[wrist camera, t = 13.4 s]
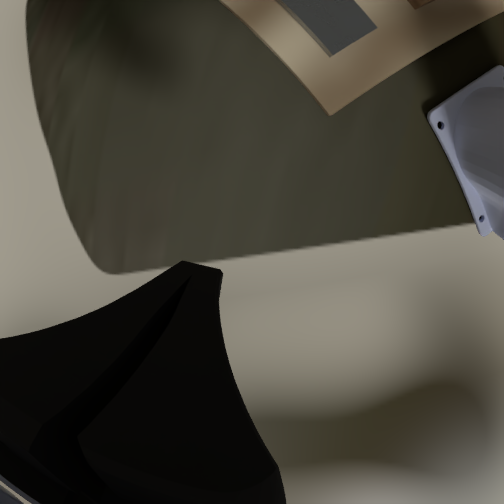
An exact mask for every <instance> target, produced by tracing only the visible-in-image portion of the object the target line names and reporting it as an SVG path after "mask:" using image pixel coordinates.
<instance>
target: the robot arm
mask: <svg viewBox="0 0 504 504" xmlns="http://www.w3.org/2000/svg"><path fill="white" fill-rule="evenodd" d="M427 119H428V122H429V123H430V125H431V127H432V129H433V130H434V132H435V134H436V136H437V138H438V140H439V142H440V143H441V145H442V147H443V149H444V151H445V153H446V155H447V157H448V159H449V161H450V163H451V166H452V168H453V170H454V172H455V174H456V176H457V179H458V181H459V183H460V185H461V188H462V190H463V193H464V195H465V197H466V200H467V202H468V205H469V208H470V210H471V213H472V216H473V218H474V221H475V224H476V227H477V229H478V232H479V234H480V235H481V236H486V235H488V234H489V233H490V232H492V231H494V232H495V233H496V234H497V235H499V236H500V237H501V238H502V239H503V240H504V67H503V66H501V65H498V66H495V67H494V68H492V69H491V70H489V71H488V72H486V73H485V74H483V75H482V76H480V77H479V78H477V79H476V80H474V81H473V82H471V83H470V84H468V85H467V86H465V87H464V88H462V89H461V90H459V91H458V92H456V93H455V94H454V95H452V96H451V97H449V98H448V99H446V100H445V101H443V102H442V103H440V104H439V105H437V106H436V107H434V108H433V109H431V110H430V111H429V112H428V115H427ZM439 121H440V122H441V124H442V126H441V128H440V129H439V128H438V126H437V123H438V122H439ZM481 215H482V217H481V219H480V220H479V217H480V216H481ZM222 277H223V273H222V271H221V270H220V269H216V268H212V267H208V266H204V265H199V264H195V263H191V262H187V261H181V262H179V263H177V264H176V265H174V266H173V267H171V268H169V269H168V270H166V271H165V272H163V273H162V274H160V275H159V276H157V277H155V278H154V279H152V280H151V281H149V282H147V283H146V284H144V285H142V286H141V287H139V288H138V289H136V290H134V291H132V292H131V293H128V294H127V295H125V296H123V297H121V298H119V299H118V300H116V301H114V302H112V303H110V304H108V305H106V306H104V307H102V308H100V309H98V310H95V311H93V312H90V313H88V314H86V315H83V316H81V317H78V318H76V319H73V320H70V321H67V322H64V323H61V324H58V325H55V326H52V327H49V328H46V329H42V330H39V331H35V332H31V333H27V334H23V335H18V336H13V337H8V338H2V339H0V480H1V481H2V482H3V483H4V484H6V485H7V486H8V487H9V488H11V489H12V490H13V491H15V492H16V493H17V494H19V495H20V496H22V497H23V498H24V499H26V500H27V501H29V502H30V503H32V504H286V498H285V492H284V487H283V483H282V479H281V475H280V471H279V467H278V465H277V464H276V462H275V460H274V459H273V457H272V456H271V454H270V452H269V451H268V449H267V447H266V446H265V444H264V442H263V440H262V439H261V437H260V435H259V433H258V431H257V429H256V427H255V425H254V423H253V421H252V419H251V417H250V415H249V413H248V411H247V409H246V406H245V404H244V402H243V399H242V397H241V394H240V392H239V389H238V387H237V384H236V382H235V379H234V376H233V373H232V370H231V367H230V364H229V360H228V356H227V353H226V349H225V344H224V339H223V334H222V328H221V322H220V311H219V297H220V290H221V284H222ZM0 504H23V503H22V502H21V501H20V500H19V499H18V498H17V497H15V496H14V495H13V494H12V493H11V492H9V491H8V490H7V489H5V488H4V487H2V486H1V485H0Z"/></svg>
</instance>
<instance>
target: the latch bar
mask: <svg viewBox="0 0 504 504" xmlns="http://www.w3.org/2000/svg"><path fill="white" fill-rule="evenodd" d="M275 1H276V2H277V3H279V4H280V5H281V6H282V7H283V8H284V9H285V10H286V11H287V12H288V13H289V14H290V15H291V16H292V17H293V18H294V19H295V20H296V21H297V22H298V23H299V24H300V25H301V26H302V27H303V28H304V30H305V31H306V32H307V33H308V34H309V35H310V36H311V37H312V38H313V39H314V40H315V42H316V43H317V44H318V45H319V46H320V47H321V48H322V49H323V51H324V52H325V53H326V54H327V55H328V56H329V58H330V57H332V56H333V55H335V54H336V53H338V52H339V51H341V50H342V49H344V48H346V47H347V46H349V45H350V44H352V43H354V42H355V41H357V40H359V39H360V38H362V37H364V36H365V35H367V34H369V33H370V32H372V31H374V30H375V29H377V28H378V27H377V26H376V25H375V24H374V22H373V21H372V20H371V19H370V18H369V17H368V15H367V14H366V13H365V12H364V11H363V10H362V8H361V7H360V6H359V5H358V4H357V3H356V2H355V1H354V0H275Z"/></svg>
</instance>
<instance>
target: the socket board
mask: <svg viewBox="0 0 504 504" xmlns="http://www.w3.org/2000/svg"><path fill="white" fill-rule="evenodd" d="M218 1H219V2H220V3H221V4H223V5H224V6H225V7H226V8H227V9H228V10H230V11H231V12H232V13H233V14H234V15H235V16H236V17H237V18H238V19H239V20H241V21H242V22H243V23H244V24H245V25H246V26H247V27H248V28H249V29H250V30H251V31H252V32H253V33H254V34H255V35H256V36H257V37H258V38H259V39H260V40H261V41H262V42H263V43H264V44H265V45H266V46H267V47H268V48H269V49H270V50H271V51H272V52H273V53H274V54H275V55H276V56H277V57H278V58H279V59H280V60H281V62H282V63H283V64H284V65H285V66H286V67H287V68H288V69H289V70H290V71H291V73H292V74H293V75H294V76H295V77H296V78H297V79H298V80H299V82H300V83H301V84H302V85H303V86H304V87H305V89H306V90H307V91H308V92H309V93H310V95H311V96H312V97H313V98H314V99H315V101H316V102H317V103H318V104H319V106H320V107H321V108H322V109H323V111H324V112H325V113H326V114H327V116H331V115H333V114H334V113H335V112H337V111H338V110H340V109H341V108H343V107H344V106H346V105H347V104H348V103H350V102H351V101H353V100H354V99H356V98H357V97H359V96H360V95H362V94H363V93H365V92H366V91H368V90H369V89H371V88H372V87H374V86H375V85H377V84H378V83H380V82H381V81H383V80H384V79H386V78H387V77H389V76H390V75H392V74H394V73H395V72H397V71H398V70H400V69H402V68H403V67H405V66H406V65H408V64H410V63H411V62H413V61H414V60H416V59H418V58H419V57H421V56H423V55H424V54H426V53H428V52H429V51H431V50H433V49H434V48H436V47H438V46H440V45H441V44H443V43H445V42H446V41H448V40H450V39H452V38H454V37H455V36H457V35H459V34H461V33H463V32H464V31H466V30H468V29H470V28H472V27H474V26H476V25H477V24H479V23H481V22H483V21H485V20H487V19H489V18H491V17H493V16H495V15H497V14H499V13H501V12H503V11H504V0H354V1H355V2H356V3H357V4H358V5H359V6H360V7H361V8H362V10H363V11H364V12H365V13H366V14H367V15H368V17H369V18H370V19H371V20H372V21H373V22H374V24H375V25H376V26H377V27H378V28H377V29H375V30H374V31H372V32H370V33H369V34H367V35H365V36H364V37H362V38H360V39H359V40H357V41H355V42H354V43H352V44H350V45H349V46H347V47H346V48H344V49H342V50H341V51H339V52H338V53H336V54H335V55H333V56H332V57H330V58H329V56H328V55H327V54H326V53H325V52H324V51H323V49H322V48H321V47H320V46H319V45H318V44H317V43H316V42H315V40H314V39H313V38H312V37H311V36H310V35H309V34H308V33H307V32H306V31H305V30H304V28H303V27H302V26H301V25H300V24H299V23H298V22H297V21H296V20H295V19H294V18H293V17H292V16H291V15H290V14H289V13H288V12H287V11H286V10H285V9H284V8H283V7H282V6H281V5H280V4H279V3H277V2H276V1H275V0H218Z"/></svg>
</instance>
